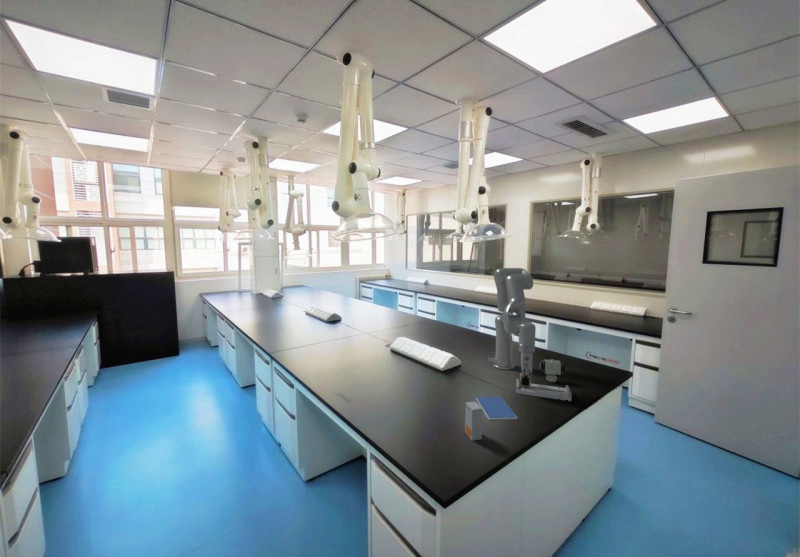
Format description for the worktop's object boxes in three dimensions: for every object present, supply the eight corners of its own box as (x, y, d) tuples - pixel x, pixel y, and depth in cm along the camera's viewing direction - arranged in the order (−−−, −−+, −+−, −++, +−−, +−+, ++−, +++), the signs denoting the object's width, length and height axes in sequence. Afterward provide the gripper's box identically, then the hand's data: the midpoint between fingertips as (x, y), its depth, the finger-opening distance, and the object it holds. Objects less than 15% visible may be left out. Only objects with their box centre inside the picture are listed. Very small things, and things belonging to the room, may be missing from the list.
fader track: (516, 393, 155) (516, 386, 155) (516, 385, 164) (516, 378, 164) (571, 401, 147) (571, 393, 147) (567, 392, 156) (567, 385, 156)
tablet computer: (518, 420, 131) (518, 417, 131) (488, 421, 130) (488, 418, 130) (501, 399, 150) (501, 396, 150) (475, 399, 149) (475, 397, 149)
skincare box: (464, 432, 121) (465, 402, 120) (474, 430, 122) (475, 400, 121) (471, 441, 115) (472, 409, 114) (482, 439, 116) (483, 408, 115)
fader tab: (519, 386, 157) (520, 374, 157) (519, 383, 161) (520, 372, 160) (530, 388, 156) (531, 376, 155) (530, 385, 159) (530, 373, 158)
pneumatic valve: (564, 383, 166) (565, 361, 165) (540, 381, 169) (541, 359, 168) (561, 379, 172) (562, 358, 171) (538, 377, 175) (539, 356, 174)
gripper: (536, 353, 147) (534, 391, 149) (533, 344, 163) (532, 378, 165) (518, 351, 150) (517, 389, 151) (518, 342, 165) (516, 376, 167)
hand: (525, 383), depth 158 cm, fingers closed on fader tab, 3 cm apart
